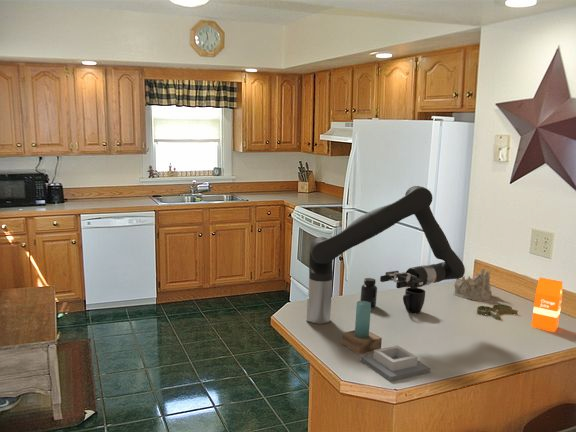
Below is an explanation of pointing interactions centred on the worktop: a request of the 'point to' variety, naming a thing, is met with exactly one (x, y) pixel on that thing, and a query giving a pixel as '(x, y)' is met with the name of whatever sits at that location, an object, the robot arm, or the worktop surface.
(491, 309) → the cookie cutter
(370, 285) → the supplement bottle
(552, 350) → the worktop surface
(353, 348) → the stand
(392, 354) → the socket base
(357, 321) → the peg
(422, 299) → the mug
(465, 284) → the sand castle
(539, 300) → the orange juice
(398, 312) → the worktop surface
